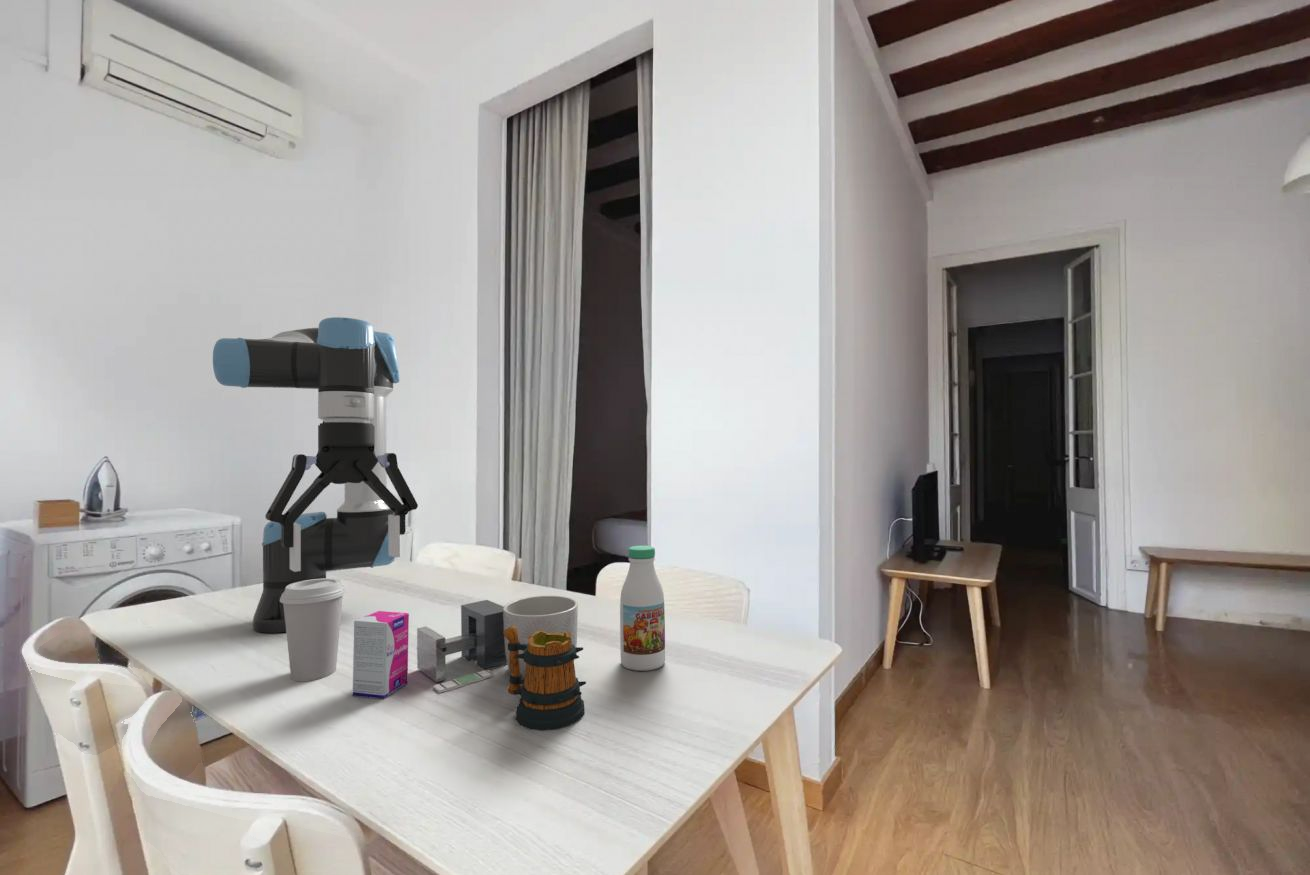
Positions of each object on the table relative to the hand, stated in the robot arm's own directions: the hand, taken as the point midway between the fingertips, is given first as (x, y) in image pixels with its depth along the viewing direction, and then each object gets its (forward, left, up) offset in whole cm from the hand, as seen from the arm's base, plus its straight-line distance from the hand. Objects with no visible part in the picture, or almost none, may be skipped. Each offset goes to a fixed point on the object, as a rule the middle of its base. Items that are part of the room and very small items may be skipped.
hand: (347, 563), depth 85 cm
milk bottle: (+21, +41, -21) cm, 50 cm away
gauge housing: (0, +22, -20) cm, 30 cm away
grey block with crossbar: (+1, +18, -20) cm, 27 cm away
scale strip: (+6, +15, -20) cm, 26 cm away
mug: (+24, +19, -21) cm, 37 cm away
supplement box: (0, +5, -21) cm, 21 cm away
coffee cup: (-15, -1, -21) cm, 26 cm away
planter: (+11, +27, -21) cm, 36 cm away
